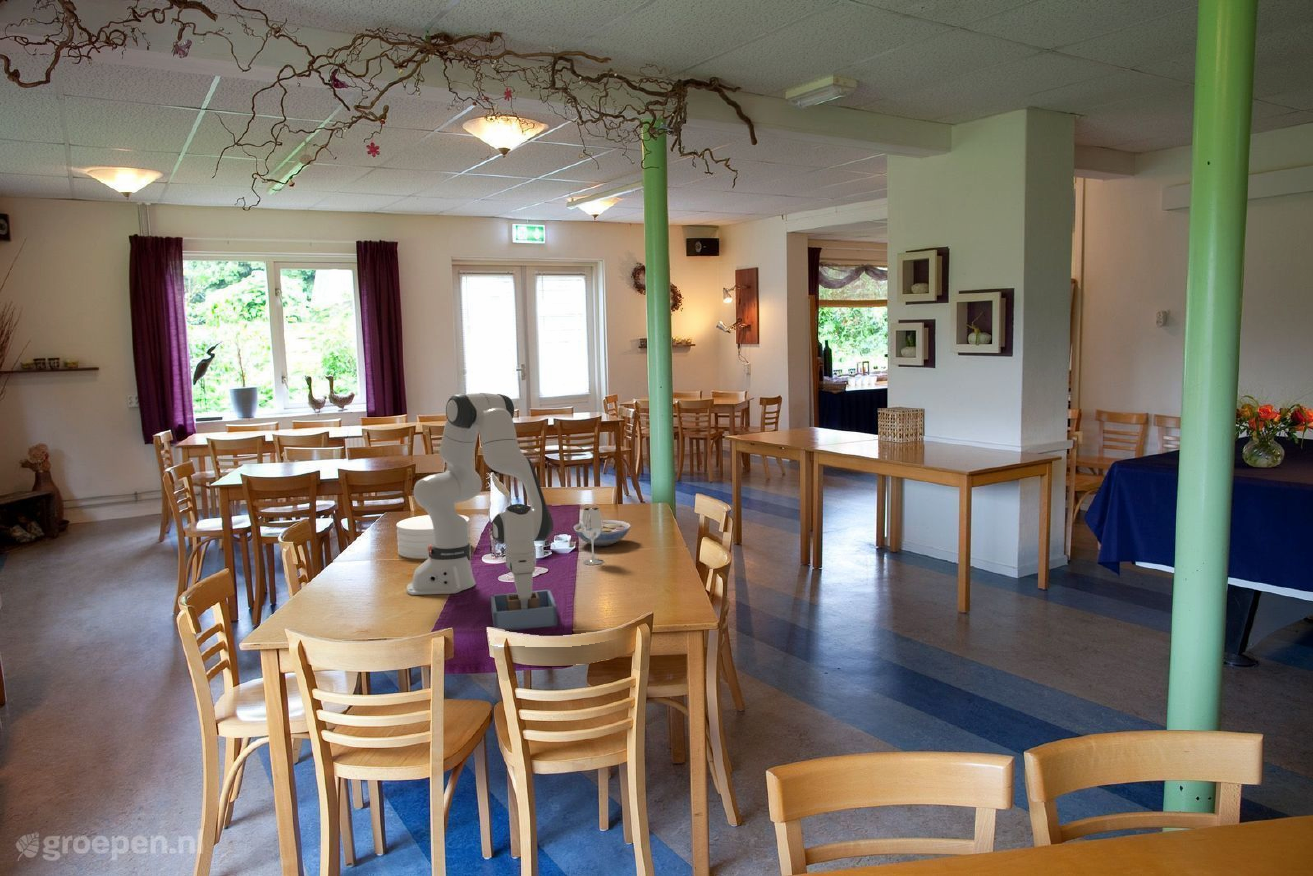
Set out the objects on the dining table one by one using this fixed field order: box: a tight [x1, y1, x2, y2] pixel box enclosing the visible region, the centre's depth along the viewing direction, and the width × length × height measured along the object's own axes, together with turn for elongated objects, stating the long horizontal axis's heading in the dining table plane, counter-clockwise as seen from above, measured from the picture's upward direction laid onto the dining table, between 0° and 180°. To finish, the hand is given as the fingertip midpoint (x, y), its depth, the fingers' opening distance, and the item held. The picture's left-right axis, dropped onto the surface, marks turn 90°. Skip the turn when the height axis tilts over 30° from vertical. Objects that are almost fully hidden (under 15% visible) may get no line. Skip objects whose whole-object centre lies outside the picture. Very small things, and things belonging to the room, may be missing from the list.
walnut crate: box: [507, 592, 539, 611], centre depth 257 cm, size 9×6×6 cm, turn 103°
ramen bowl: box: [573, 519, 632, 547], centre depth 346 cm, size 25×23×8 cm
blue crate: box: [490, 589, 559, 631], centre depth 258 cm, size 18×18×6 cm
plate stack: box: [396, 514, 472, 559], centre depth 345 cm, size 28×28×12 cm
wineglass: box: [581, 506, 604, 566], centre depth 318 cm, size 8×8×20 cm
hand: (523, 605), depth 257 cm, fingers open, 7 cm apart
